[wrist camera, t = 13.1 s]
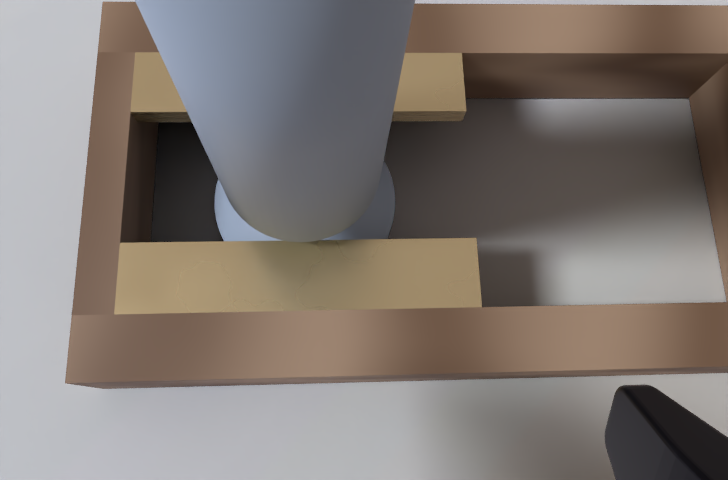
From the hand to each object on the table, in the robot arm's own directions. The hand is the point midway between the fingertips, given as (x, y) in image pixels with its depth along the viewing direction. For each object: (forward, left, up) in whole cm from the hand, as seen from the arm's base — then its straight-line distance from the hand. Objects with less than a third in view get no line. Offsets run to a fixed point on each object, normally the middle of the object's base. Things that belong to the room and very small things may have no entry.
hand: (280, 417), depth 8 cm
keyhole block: (+7, +2, -9) cm, 12 cm away
